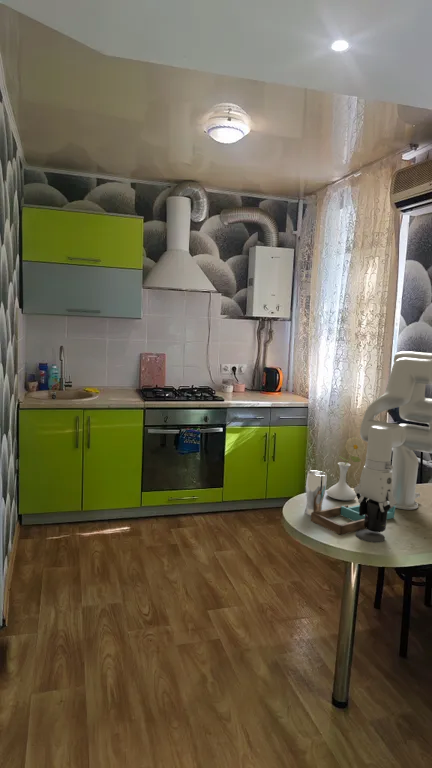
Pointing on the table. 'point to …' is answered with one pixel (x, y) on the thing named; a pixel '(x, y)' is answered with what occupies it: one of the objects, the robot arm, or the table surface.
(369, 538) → the coaster
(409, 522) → the table surface
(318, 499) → the beer glass
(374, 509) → the supplement bottle
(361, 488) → the robot arm
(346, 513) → the teal drawer
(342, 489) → the flower in vase
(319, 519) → the walnut cubby
